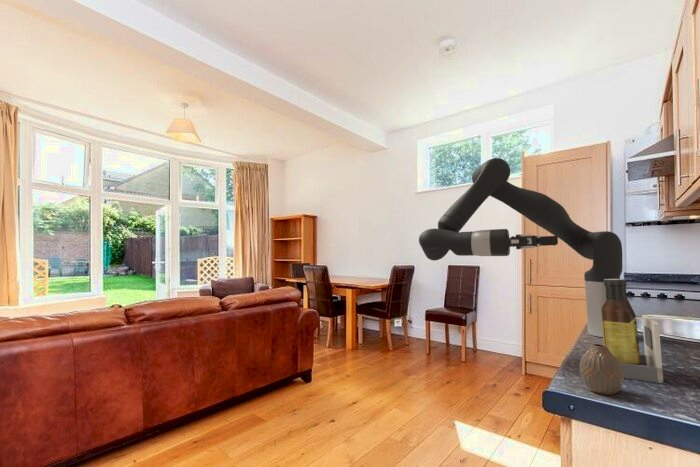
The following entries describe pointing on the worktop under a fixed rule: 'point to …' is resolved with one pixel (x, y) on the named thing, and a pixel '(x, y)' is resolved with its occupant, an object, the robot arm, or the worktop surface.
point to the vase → (601, 370)
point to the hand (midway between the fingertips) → (557, 240)
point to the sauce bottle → (619, 323)
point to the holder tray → (647, 356)
